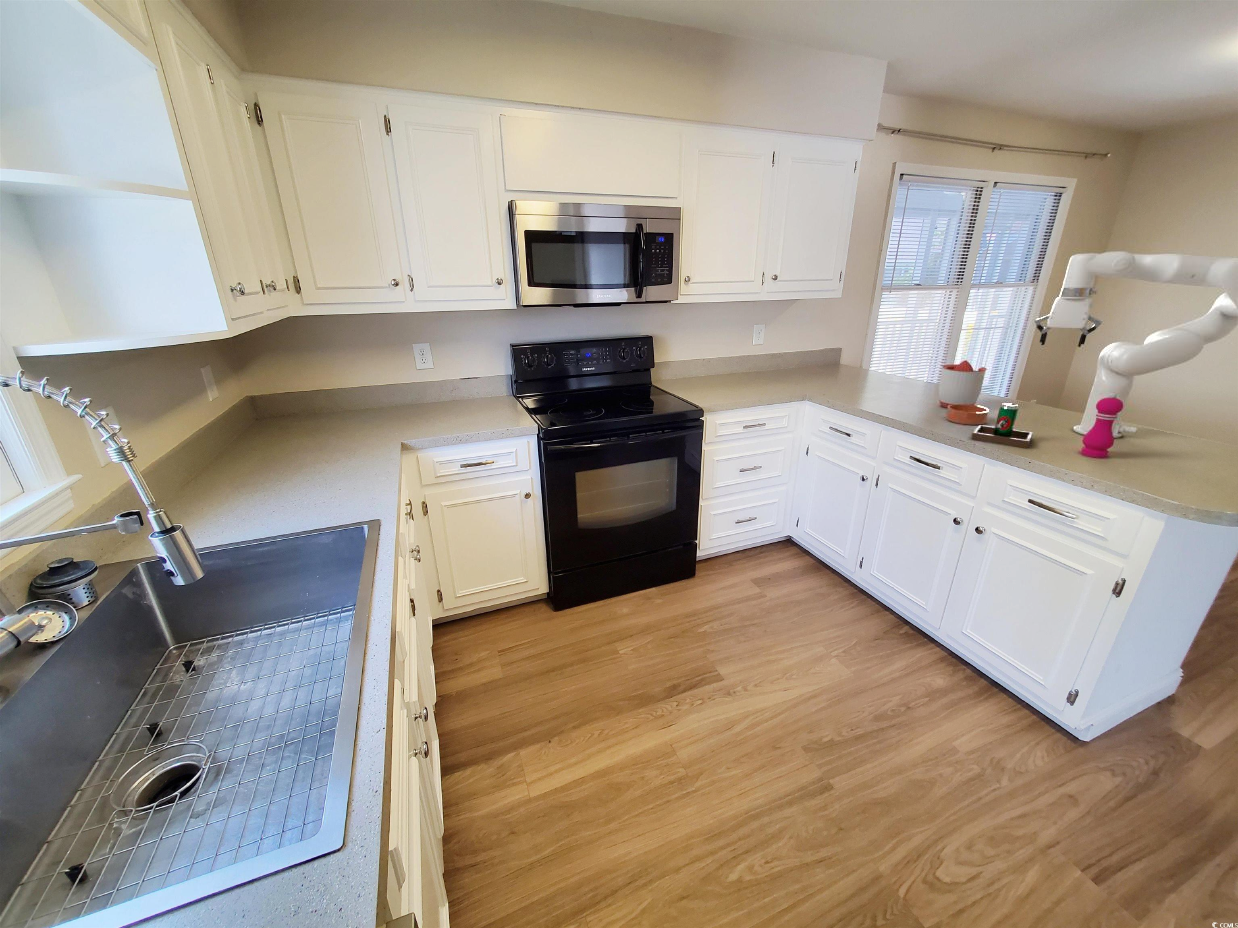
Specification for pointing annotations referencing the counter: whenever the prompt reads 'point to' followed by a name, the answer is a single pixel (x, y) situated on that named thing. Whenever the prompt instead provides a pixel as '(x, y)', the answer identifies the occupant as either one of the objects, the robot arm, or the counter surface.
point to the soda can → (1006, 420)
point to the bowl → (967, 414)
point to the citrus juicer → (960, 384)
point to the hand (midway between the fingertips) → (1060, 345)
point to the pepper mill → (1102, 428)
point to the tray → (1016, 439)
